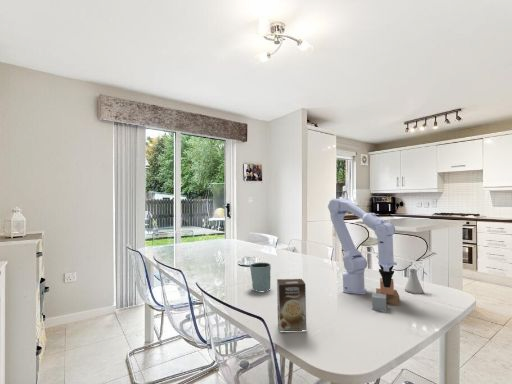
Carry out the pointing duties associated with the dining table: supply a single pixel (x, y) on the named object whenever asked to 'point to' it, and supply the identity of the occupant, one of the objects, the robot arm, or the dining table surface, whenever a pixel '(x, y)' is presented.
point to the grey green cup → (260, 276)
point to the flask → (413, 283)
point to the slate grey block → (379, 302)
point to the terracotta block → (386, 288)
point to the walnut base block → (391, 298)
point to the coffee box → (291, 304)
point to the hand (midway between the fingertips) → (387, 284)
